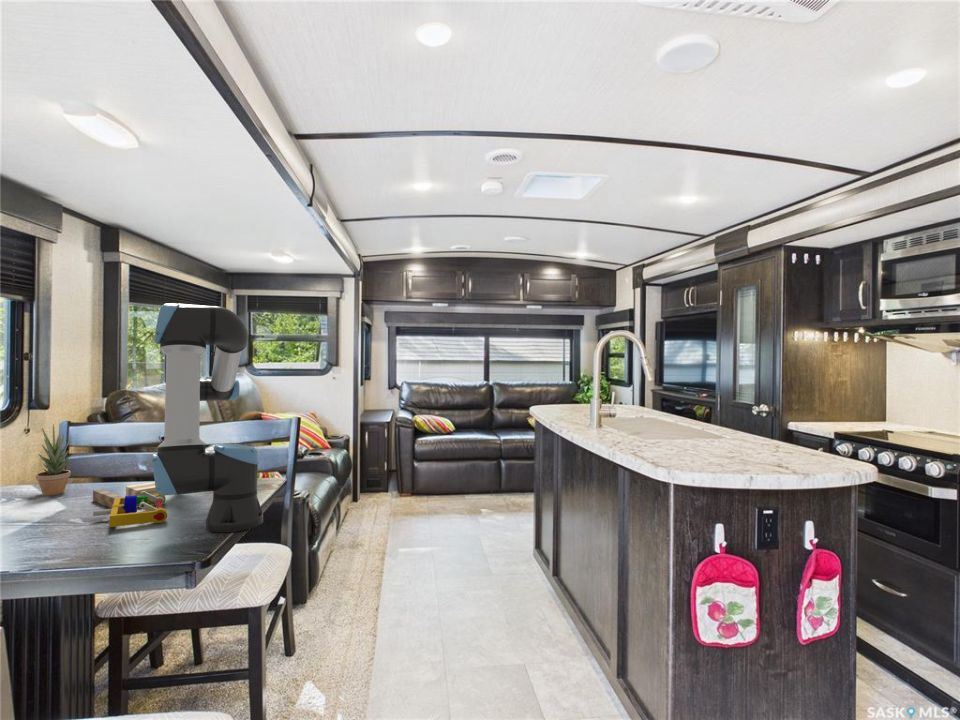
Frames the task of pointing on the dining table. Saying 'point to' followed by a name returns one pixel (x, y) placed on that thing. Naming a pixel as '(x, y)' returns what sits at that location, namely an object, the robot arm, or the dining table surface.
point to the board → (105, 497)
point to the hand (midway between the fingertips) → (177, 480)
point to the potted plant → (53, 467)
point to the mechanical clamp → (135, 510)
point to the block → (141, 489)
